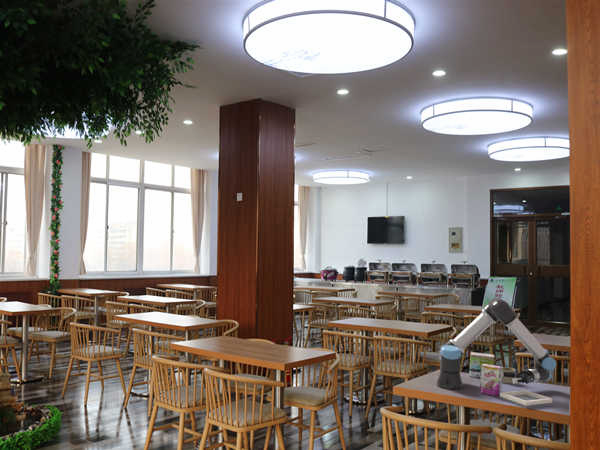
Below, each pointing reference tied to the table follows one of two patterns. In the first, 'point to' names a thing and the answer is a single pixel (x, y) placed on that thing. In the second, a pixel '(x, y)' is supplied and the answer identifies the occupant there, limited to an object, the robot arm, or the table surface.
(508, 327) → the robot arm
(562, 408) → the table surface
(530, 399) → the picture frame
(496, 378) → the candy bar box
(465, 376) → the table surface
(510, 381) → the flower pot
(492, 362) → the tea box
